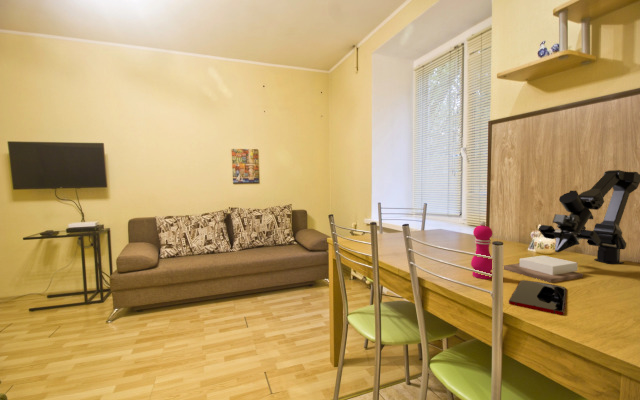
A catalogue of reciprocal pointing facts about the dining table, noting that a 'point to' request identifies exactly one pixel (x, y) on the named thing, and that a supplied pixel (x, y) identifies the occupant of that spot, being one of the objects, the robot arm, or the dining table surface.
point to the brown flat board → (542, 274)
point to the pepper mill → (482, 250)
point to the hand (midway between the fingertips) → (556, 251)
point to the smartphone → (539, 297)
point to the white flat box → (548, 265)
